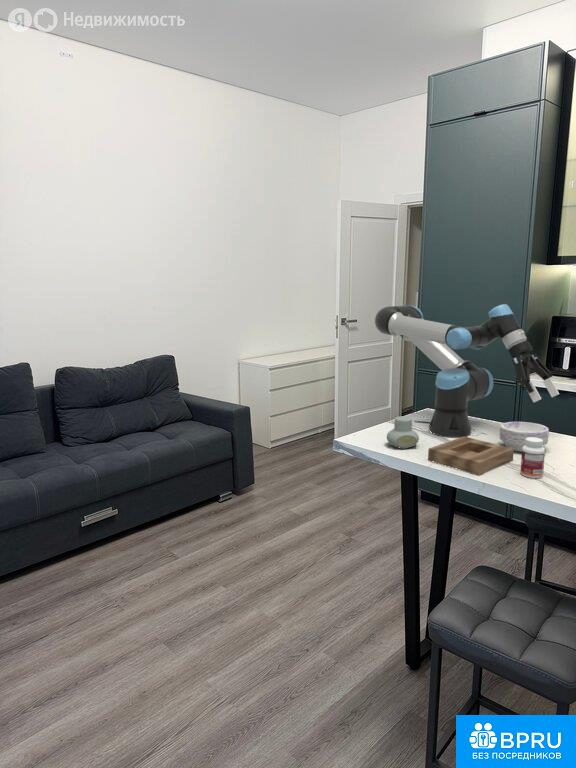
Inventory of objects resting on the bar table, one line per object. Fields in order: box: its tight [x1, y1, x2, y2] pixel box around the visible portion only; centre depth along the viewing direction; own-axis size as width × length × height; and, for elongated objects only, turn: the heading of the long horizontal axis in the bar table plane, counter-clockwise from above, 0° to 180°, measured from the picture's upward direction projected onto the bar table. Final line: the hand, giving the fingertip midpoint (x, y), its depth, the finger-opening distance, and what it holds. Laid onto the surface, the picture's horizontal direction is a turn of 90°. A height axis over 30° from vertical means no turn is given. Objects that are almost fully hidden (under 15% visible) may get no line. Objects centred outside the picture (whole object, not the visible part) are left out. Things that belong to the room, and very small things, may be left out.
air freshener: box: [386, 415, 420, 449], centre depth 190 cm, size 11×8×10 cm
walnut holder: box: [427, 436, 515, 476], centre depth 175 cm, size 18×20×4 cm
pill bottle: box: [520, 437, 546, 479], centre depth 161 cm, size 6×6×11 cm
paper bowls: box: [499, 421, 550, 453], centre depth 186 cm, size 15×15×8 cm
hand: (546, 398), depth 190 cm, fingers open, 13 cm apart
